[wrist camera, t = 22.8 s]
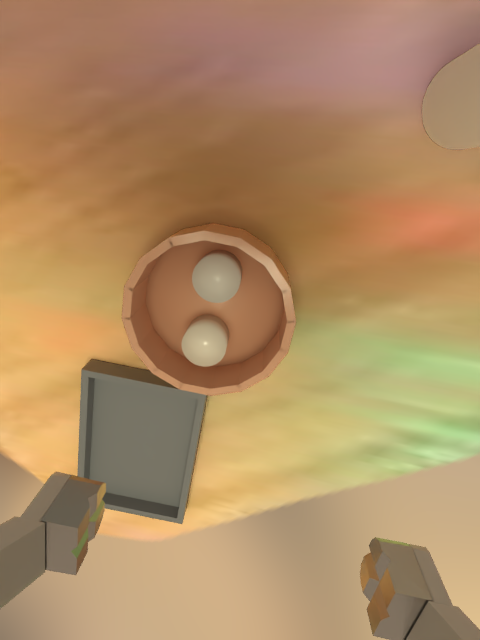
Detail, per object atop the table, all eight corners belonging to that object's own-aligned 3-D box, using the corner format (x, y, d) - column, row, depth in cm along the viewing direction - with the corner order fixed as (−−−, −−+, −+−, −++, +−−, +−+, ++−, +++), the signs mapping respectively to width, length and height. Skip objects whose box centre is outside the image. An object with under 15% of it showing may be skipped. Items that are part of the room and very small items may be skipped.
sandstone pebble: (185, 348, 41) (179, 361, 38) (190, 310, 39) (184, 321, 36) (225, 356, 41) (222, 370, 38) (232, 318, 39) (229, 330, 36)
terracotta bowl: (135, 352, 42) (116, 376, 37) (149, 209, 37) (129, 215, 31) (272, 380, 42) (272, 408, 37) (308, 242, 37) (314, 253, 31)
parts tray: (85, 487, 50) (76, 502, 48) (91, 359, 43) (81, 369, 41) (186, 508, 50) (182, 524, 48) (209, 383, 43) (206, 395, 41)
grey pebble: (195, 288, 38) (189, 297, 35) (201, 245, 37) (195, 251, 34) (238, 297, 38) (235, 306, 35) (246, 254, 37) (244, 260, 34)
